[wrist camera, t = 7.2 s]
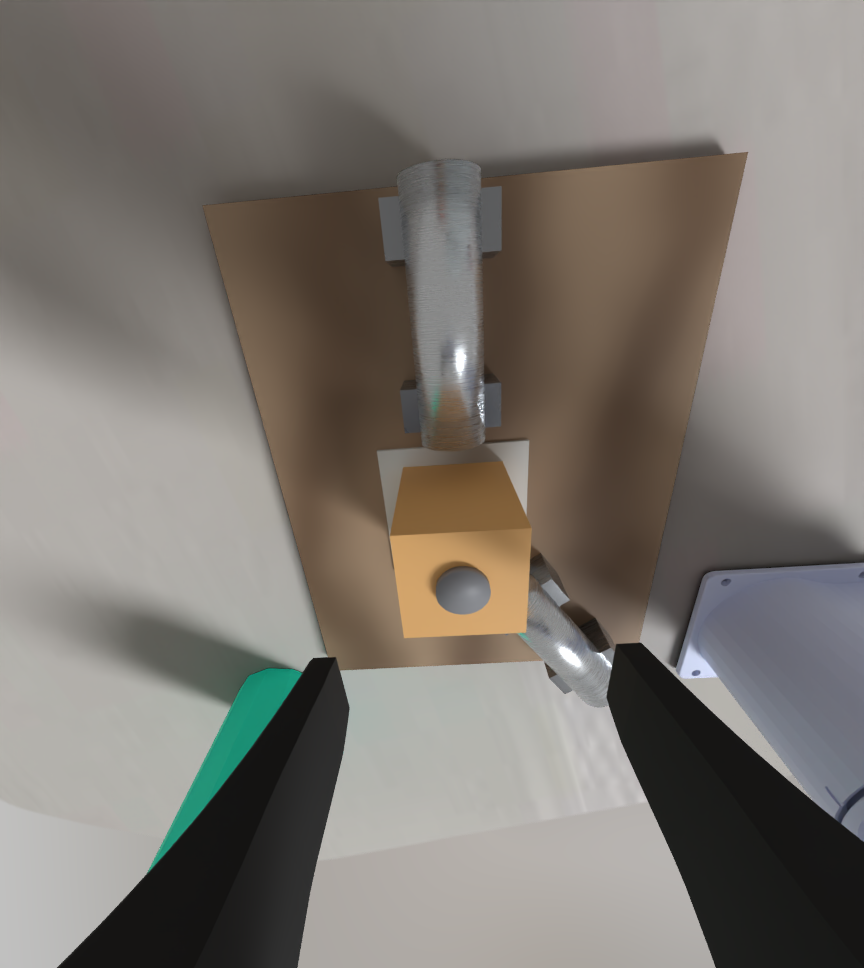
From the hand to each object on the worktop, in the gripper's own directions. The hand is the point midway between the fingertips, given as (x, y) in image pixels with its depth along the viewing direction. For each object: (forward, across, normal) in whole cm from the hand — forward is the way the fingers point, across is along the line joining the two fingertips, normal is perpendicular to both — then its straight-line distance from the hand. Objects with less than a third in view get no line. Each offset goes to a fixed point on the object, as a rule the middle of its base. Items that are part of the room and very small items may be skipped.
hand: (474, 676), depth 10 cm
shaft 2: (+10, -5, +7) cm, 13 cm away
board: (+10, -1, -1) cm, 10 cm away
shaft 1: (+10, 0, -8) cm, 13 cm away
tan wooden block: (+9, 0, 0) cm, 9 cm away
